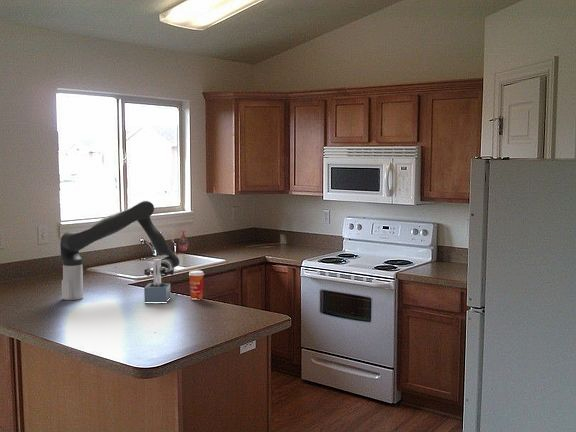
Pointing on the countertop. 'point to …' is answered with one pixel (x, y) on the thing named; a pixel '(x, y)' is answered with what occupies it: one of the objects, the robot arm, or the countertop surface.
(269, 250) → the countertop surface
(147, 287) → the grey open box
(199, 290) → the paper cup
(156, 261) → the white upright rod
